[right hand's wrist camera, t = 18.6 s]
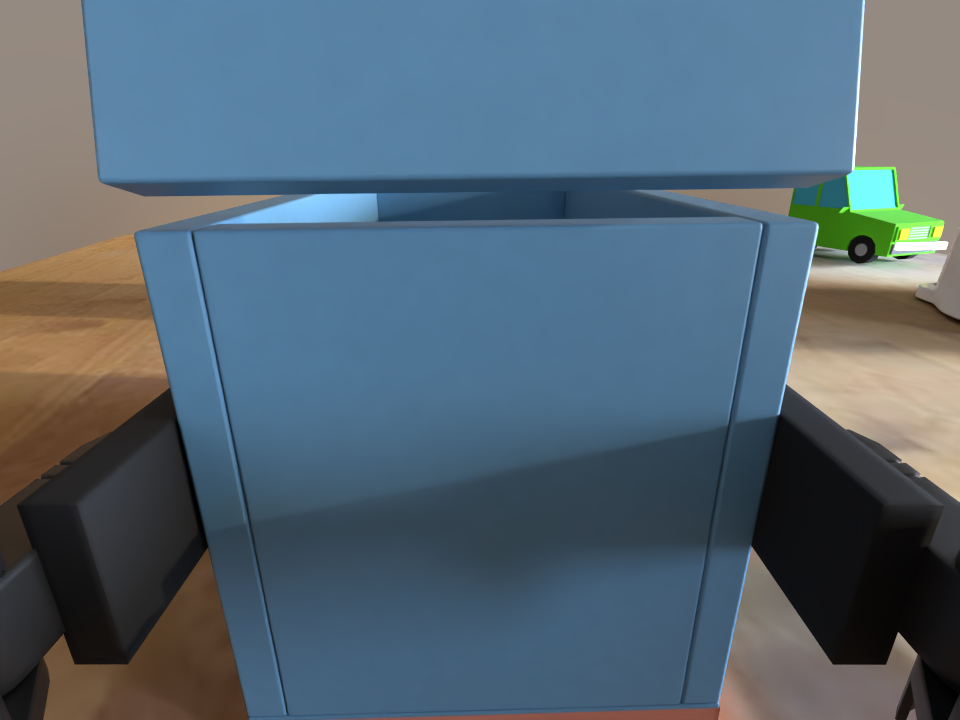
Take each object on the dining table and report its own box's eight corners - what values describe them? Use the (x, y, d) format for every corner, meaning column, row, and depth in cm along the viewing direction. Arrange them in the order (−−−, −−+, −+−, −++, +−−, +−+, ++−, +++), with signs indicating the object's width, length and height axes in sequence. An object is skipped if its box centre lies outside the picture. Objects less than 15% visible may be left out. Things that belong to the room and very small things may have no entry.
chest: (378, 396, 28) (359, 176, 24) (570, 392, 28) (582, 173, 24) (252, 746, 12) (129, 231, 8) (715, 732, 12) (824, 221, 8)
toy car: (879, 269, 57) (906, 169, 54) (775, 249, 69) (791, 166, 65) (942, 263, 61) (971, 168, 57) (833, 245, 72) (851, 165, 69)
